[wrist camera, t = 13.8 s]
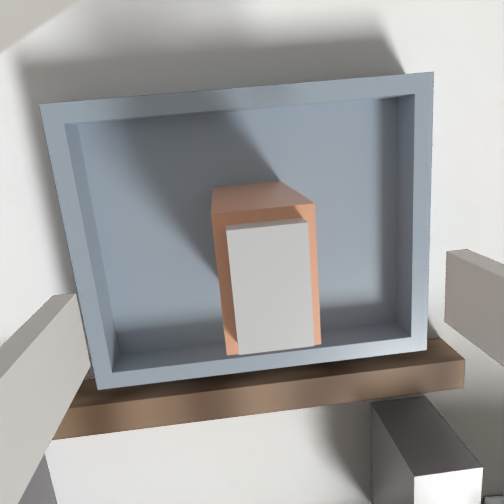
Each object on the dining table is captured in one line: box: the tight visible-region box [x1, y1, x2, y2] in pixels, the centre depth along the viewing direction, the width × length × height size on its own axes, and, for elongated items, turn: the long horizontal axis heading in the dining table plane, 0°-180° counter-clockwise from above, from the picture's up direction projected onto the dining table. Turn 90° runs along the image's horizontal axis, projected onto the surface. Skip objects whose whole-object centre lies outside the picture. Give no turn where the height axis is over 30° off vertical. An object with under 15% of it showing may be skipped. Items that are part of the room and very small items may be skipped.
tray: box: [39, 72, 434, 390], centre depth 25 cm, size 20×16×3 cm
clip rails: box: [52, 338, 465, 440], centre depth 30 cm, size 33×18×3 cm, turn 95°
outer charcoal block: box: [371, 396, 483, 504], centre depth 29 cm, size 4×9×7 cm, turn 5°
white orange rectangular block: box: [211, 181, 321, 355], centre depth 21 cm, size 4×6×10 cm, turn 5°
